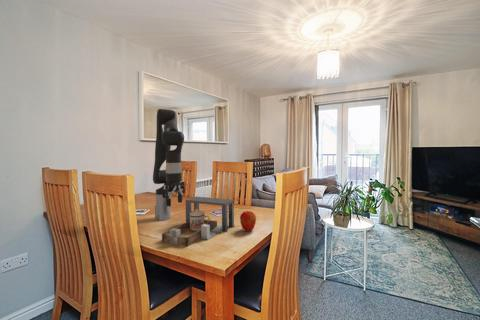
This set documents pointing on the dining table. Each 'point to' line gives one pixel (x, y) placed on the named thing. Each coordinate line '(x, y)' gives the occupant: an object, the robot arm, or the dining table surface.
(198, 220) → the teacup with lid
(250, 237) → the dining table surface
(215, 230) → the strip grey far
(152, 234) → the dining table surface
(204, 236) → the light grey block
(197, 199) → the shelf
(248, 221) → the apple
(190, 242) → the sled walnut
